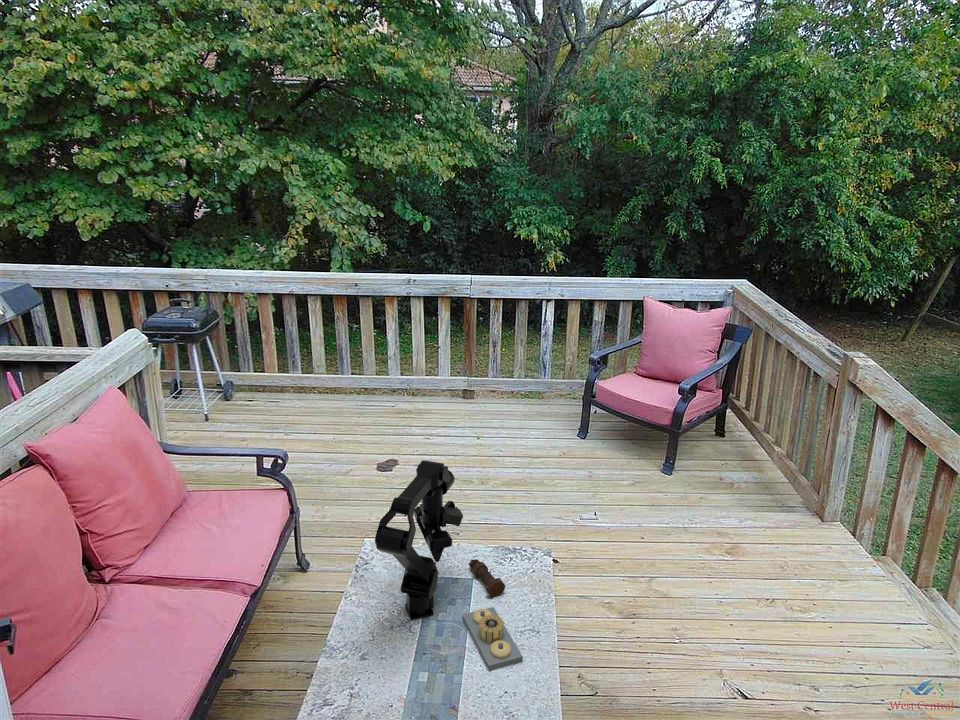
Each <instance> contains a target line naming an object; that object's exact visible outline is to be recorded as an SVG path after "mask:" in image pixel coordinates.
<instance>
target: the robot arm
mask: <svg viewBox="0 0 960 720" xmlns="http://www.w3.org/2000/svg"><path fill="white" fill-rule="evenodd" d="M415 471H416V475H415V477H414V478H413V480H411V482H410V483H408V485H407V486H406V488H405V489H404V490H403V491H402V492H401V493H400V494H399V496H398V497H394V498H393V500H392V502H391V506H390V509H389V510H388V511H387V512H386V513H385V515H383V516H382V518H380V521H379V522H378V525H377V530H376V533H375V537H374V544H375V547H376V549H377V550H378V551H380V552H382V553H385V554H388V555H392V556H393V557H394V558H395V560H396V561H397V562H398V563H399V564H400V565H401V566H402V567H403V569H404V573H403V577H402V581H401V584H400V585H401V586H400V588H399V589H400V592H401V594H406V603H405V604H404V606H405V609H406V611H407V614H408V617H409V619H410V620H411V621H414V620H416V619H417V618H418V619H421V618H427V617H429V616H433V615H434V614H435V613H434V610H433V609H434V604H435V603H434V594H435V592H436V591H437V586H438V585H437V584H438V580H439V579H438V578H439V570H438V567H437V563H438V562H440V560H441V558H442V556H443V552H444V549H445V548H450V547H452V546H453V539H452V537H451V534H450V532H449V531H447V530H442V528H445V527H447V525H451V526H452V525H453V526H455V527H460V526H461V524H462V521H463V519H464V514H463V512H462V511H461V510H460V508H458V506H456V504H455V503H454V501H453V500H448V501H447V502H446V503H445V504H444V505H443V501H444V500H443V496H445V495H446V494H447V493H448V491H449V490H450V489H451V487H452V486H453V484H454V483H455V478H456V477H455V476H454V473H452V472H451V471H450V470H449V466H448V465H447V466H446V465H445V463H444V462H438V461H431V460H425V459H423V460H422V461H420V463H419V464H418V465H417V466H416V470H415ZM420 503H421V504H420ZM418 505H419V506H418ZM397 514H399V515H404V516H406V517H407V521H408V525H409V528H408V530H405V529H400V528H396V527H391V526H387V525H388V524H389V523H390V522H391V521H392V520H393V519H394V518H395V516H396V515H397ZM414 518H415V519H414ZM415 521H416V523H417V525H418V527H419V530H420V532H421V534H422V536H423V538H424V541H425V543H426V545H427V546H428V549H429V552H430V554H431V556H432V557H429V556H423V555H420V554H419V553H418V552H417V551H416V550H415V549H414V547H413V542H414V539H415V535H416V531H417V529H416V523H415Z"/></svg>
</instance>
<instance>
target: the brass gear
mask: <svg viewBox="0 0 960 720" xmlns="http://www.w3.org/2000/svg"><path fill="white" fill-rule="evenodd" d="M498 616H499V615H498ZM498 616H496V615H486V616H483V617H482V618H481V619H480V620H479V632H478V635H479V638H480V639H481V640H482V641H484V642H485V643H486V642H487V643H490V644H492V642H495V641H498V640H502V639H503V636H504V626H505V621H504V620H503V618H501V617H500V616H499V617H498ZM490 621H493V622H494V623H495V627H493V628H490V627H488V623H489V622H490Z"/></svg>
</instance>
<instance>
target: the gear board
mask: <svg viewBox="0 0 960 720" xmlns="http://www.w3.org/2000/svg"><path fill="white" fill-rule="evenodd" d="M486 615H496V616H498V617H500V616H499V614H498V612H497V611H496V608H495V607H494V606H492V607H488V608H479V609H476V610H475V611H472V612H471V611H470V612H468V613H467V612H466V613H463V614H462V615H461V617H462V621H463V623H464V625H465V627H466V629H467V631H468V633H469V636H470V637H471V639H472V641H473V644H475V646H476V649H477V650H478V652H479V653H478V654H480V656H481V658H482V661H483V662H484V665H485V666H486V668H487V670H488V672H489V671H493V670H496V669H500V668H504V667H507V666H512V665H513V664H519V663H523V659H524V658H523V655H522V652H521V651H520V649H519V648H518V646H517V645H516V642H515V641H514V640H513V638H512V636H511V634H510V633H509V631H508V629H507V628H506V626H505V625H504V636H503V639H502V640H498V641H495V642H492V644H490V643H487V642H486V643H485V642H484V641H482V640H481V639H480V638H479V635H478V632H479V620H480V619H481V618H482V617H483V616H486ZM488 627H490V628H493V627H495V623H494V622H493V621H490V622H489V623H488Z"/></svg>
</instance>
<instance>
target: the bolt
mask: <svg viewBox="0 0 960 720" xmlns="http://www.w3.org/2000/svg"><path fill="white" fill-rule="evenodd" d="M468 566H469V568H470V569H471V573H472V574H473V575H474V577H475V578H476V579H479V580H481V582H482V583H483V584H484V585H485V586H486V587H485V590H486V593H488V595H489V596H490V597H491V598H493V599H494V597H495V598H498V597H500V596H501V595H502V594H503V593H505V589H506V584H505V583H504V581H502V579H501V578H500V577H497V578H495V577H494V576H493V574H491V572H490V571H489V568H488V566H487V565H486V564H485V563H484V561H479V559H477V558H475V559H470V560H469V563H468Z"/></svg>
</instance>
